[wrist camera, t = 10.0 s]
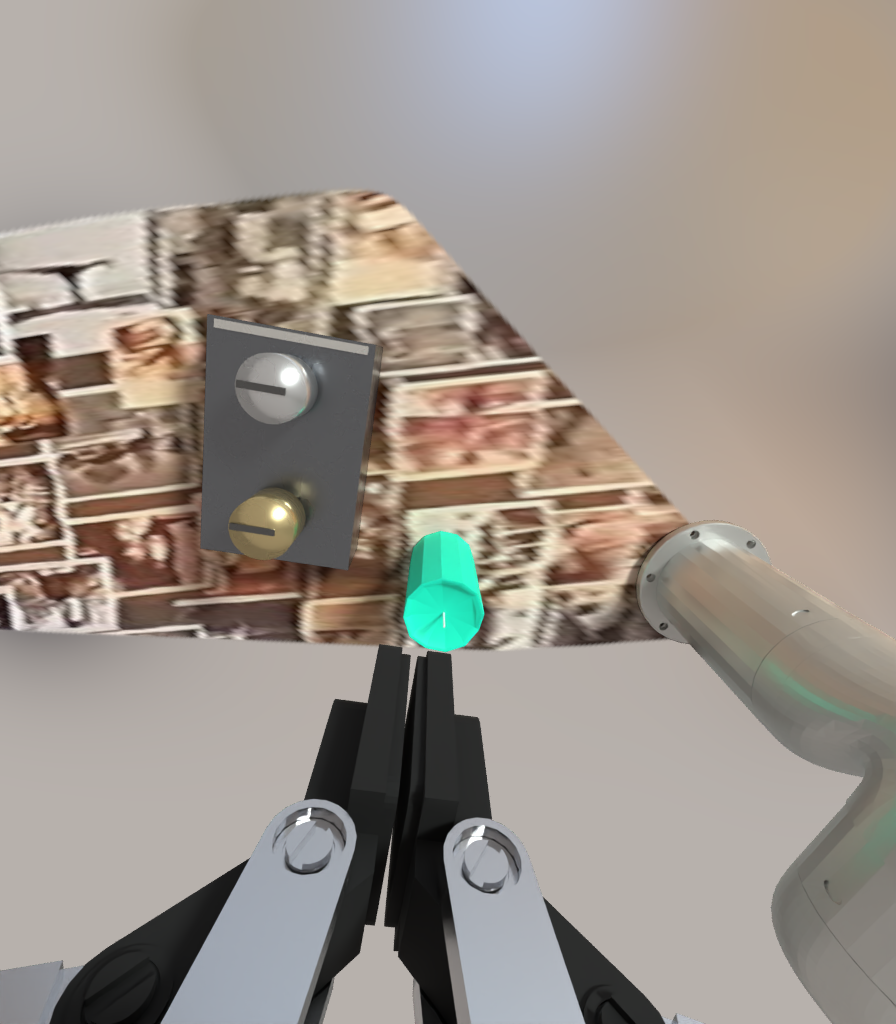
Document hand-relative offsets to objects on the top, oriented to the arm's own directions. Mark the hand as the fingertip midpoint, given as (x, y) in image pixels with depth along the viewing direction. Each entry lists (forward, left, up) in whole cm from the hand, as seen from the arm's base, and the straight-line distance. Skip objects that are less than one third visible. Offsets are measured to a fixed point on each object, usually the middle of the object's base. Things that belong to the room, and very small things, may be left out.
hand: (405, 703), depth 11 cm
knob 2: (+11, +6, -32) cm, 34 cm away
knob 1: (+11, -4, -32) cm, 34 cm away
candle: (-3, +10, -33) cm, 35 cm away
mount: (+11, +1, -33) cm, 35 cm away
